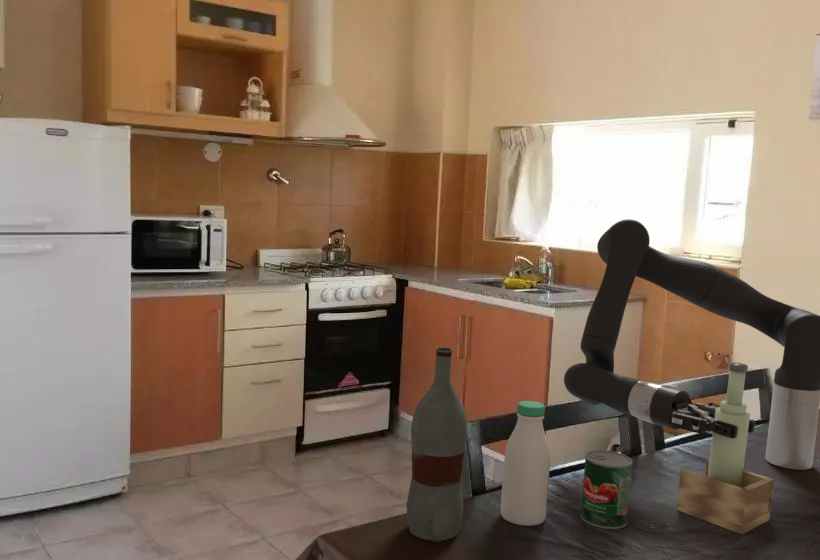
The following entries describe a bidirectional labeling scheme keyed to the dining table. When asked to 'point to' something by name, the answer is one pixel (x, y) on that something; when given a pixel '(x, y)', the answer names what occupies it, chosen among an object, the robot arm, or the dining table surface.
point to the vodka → (437, 457)
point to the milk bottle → (526, 468)
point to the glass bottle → (724, 449)
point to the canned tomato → (606, 489)
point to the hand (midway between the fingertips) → (745, 429)
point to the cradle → (726, 499)
